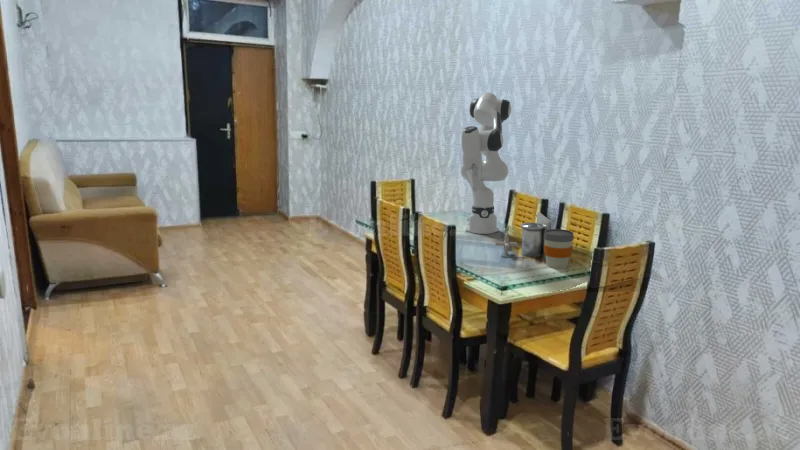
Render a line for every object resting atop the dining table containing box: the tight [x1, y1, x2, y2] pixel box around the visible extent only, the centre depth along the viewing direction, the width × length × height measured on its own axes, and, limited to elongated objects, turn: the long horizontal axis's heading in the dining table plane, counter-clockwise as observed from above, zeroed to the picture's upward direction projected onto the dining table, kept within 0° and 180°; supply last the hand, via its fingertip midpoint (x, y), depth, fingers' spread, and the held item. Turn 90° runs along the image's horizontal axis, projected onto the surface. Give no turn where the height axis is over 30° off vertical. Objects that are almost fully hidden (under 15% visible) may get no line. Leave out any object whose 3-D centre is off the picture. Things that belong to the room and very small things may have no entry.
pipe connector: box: [495, 232, 518, 256], centre depth 260 cm, size 10×10×10 cm
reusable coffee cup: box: [544, 228, 575, 270], centre depth 242 cm, size 12×13×15 cm
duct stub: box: [520, 211, 552, 260], centre depth 260 cm, size 20×11×18 cm, turn 1°
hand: (474, 190), depth 264 cm, fingers closed
